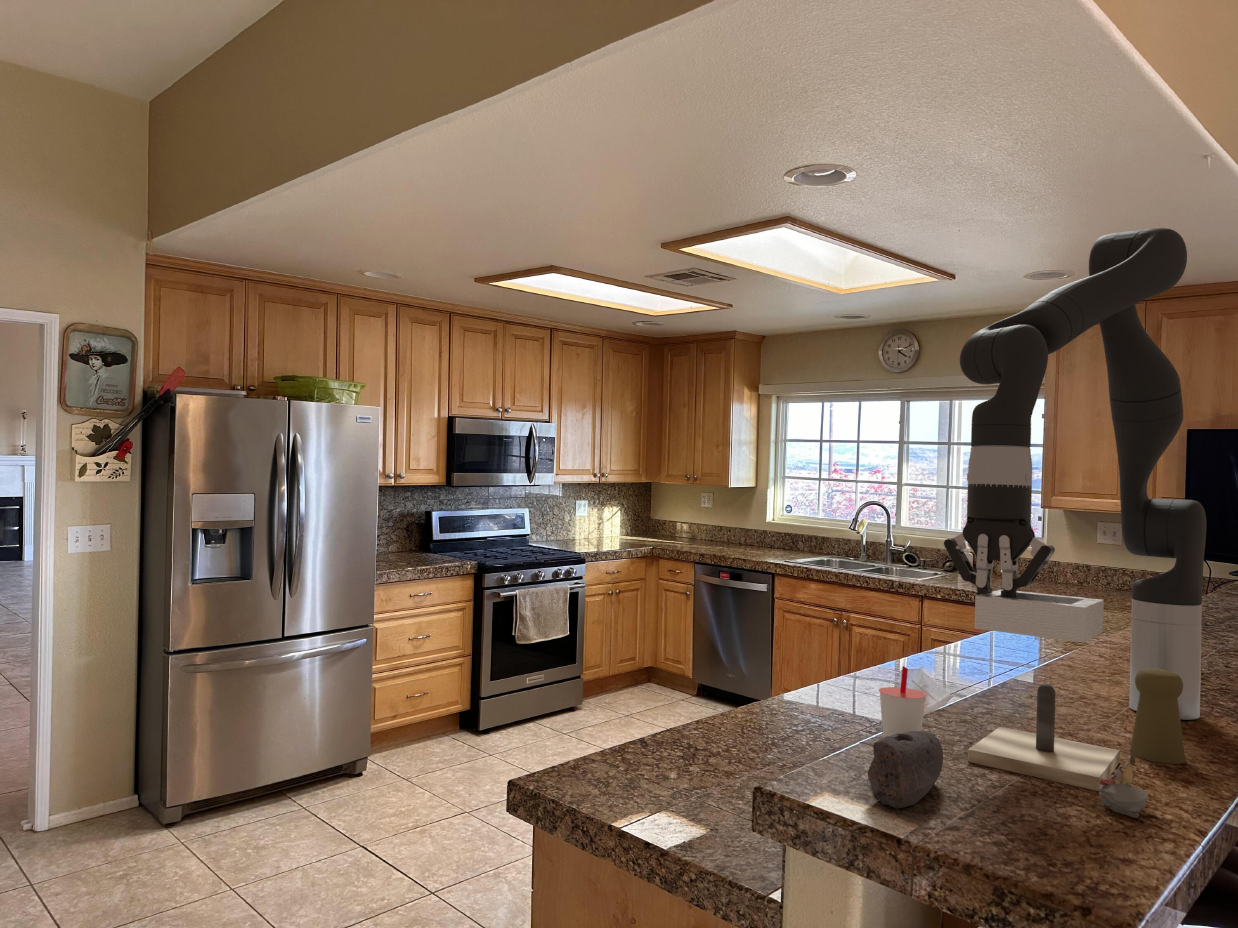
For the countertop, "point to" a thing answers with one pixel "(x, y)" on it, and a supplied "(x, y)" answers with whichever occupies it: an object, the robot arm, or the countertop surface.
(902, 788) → the perforated stone tool
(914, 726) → the cup
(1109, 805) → the figurine
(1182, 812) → the countertop surface
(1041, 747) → the block
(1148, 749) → the cork
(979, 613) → the grey hollow block
